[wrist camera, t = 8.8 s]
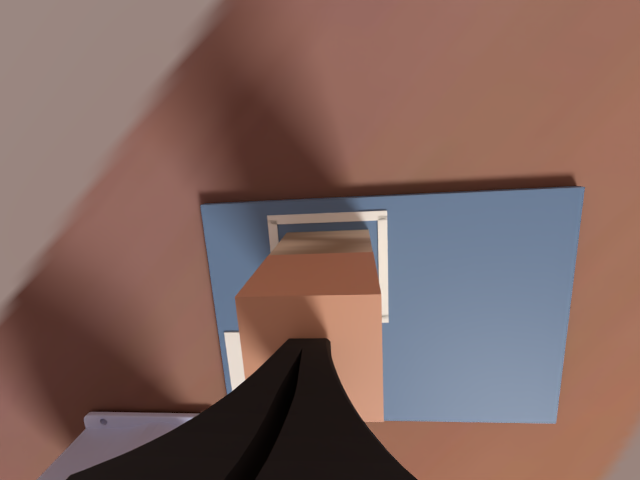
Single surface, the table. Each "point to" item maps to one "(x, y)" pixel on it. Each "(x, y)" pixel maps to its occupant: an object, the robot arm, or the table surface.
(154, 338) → the table surface
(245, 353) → the terracotta cube
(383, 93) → the table surface
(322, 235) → the maple cube
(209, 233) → the board
